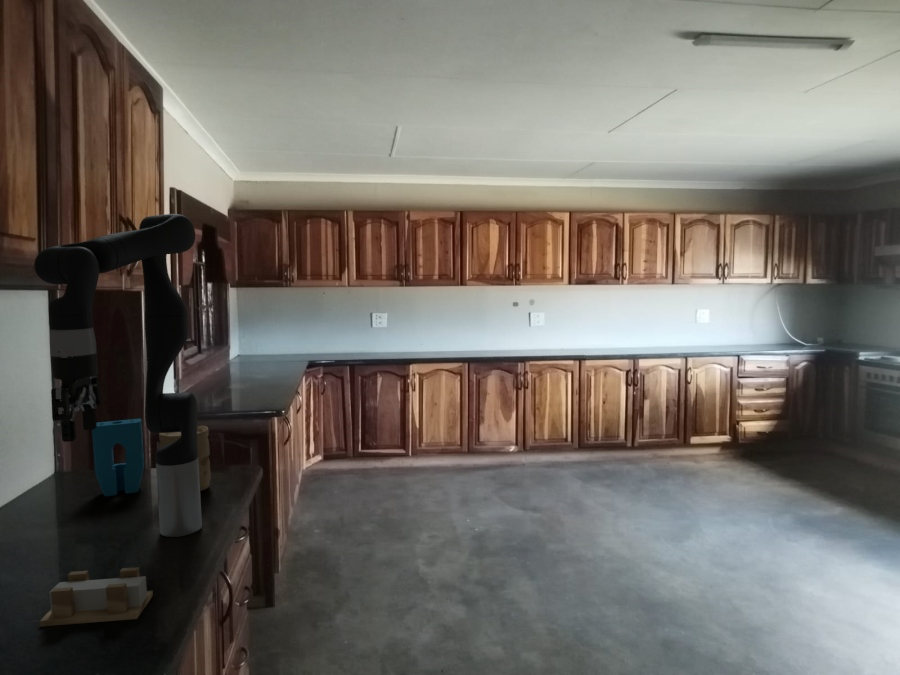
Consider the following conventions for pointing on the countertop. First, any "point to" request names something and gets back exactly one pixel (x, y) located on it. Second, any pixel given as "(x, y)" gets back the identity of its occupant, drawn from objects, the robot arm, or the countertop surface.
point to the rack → (114, 611)
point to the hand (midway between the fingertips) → (80, 435)
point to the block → (105, 469)
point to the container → (202, 452)
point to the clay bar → (103, 592)
